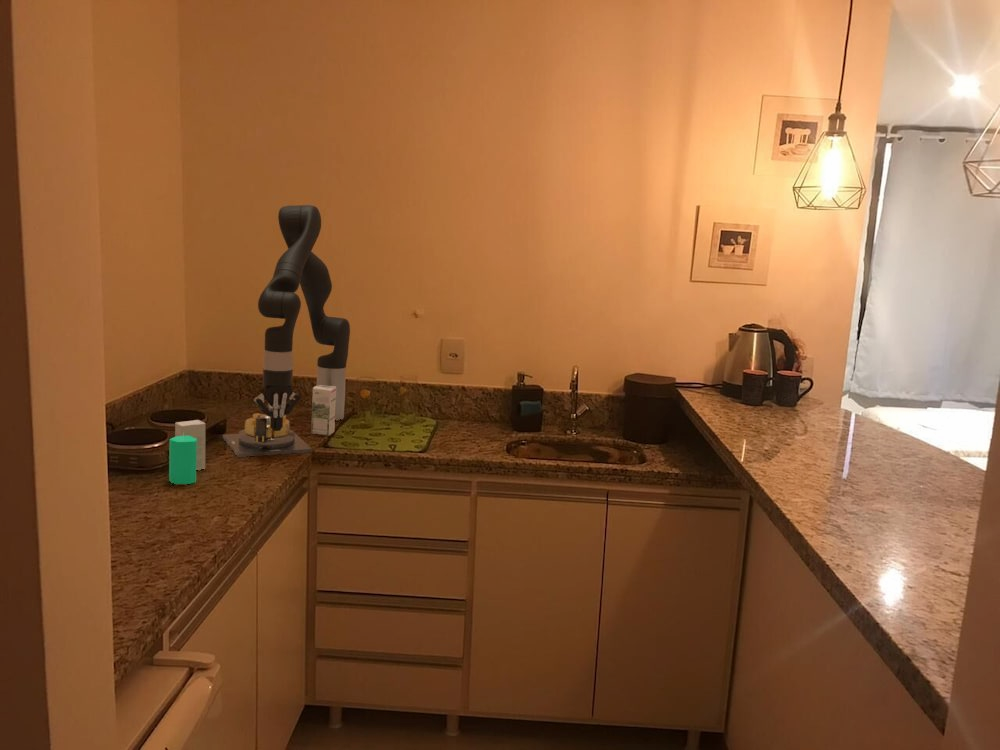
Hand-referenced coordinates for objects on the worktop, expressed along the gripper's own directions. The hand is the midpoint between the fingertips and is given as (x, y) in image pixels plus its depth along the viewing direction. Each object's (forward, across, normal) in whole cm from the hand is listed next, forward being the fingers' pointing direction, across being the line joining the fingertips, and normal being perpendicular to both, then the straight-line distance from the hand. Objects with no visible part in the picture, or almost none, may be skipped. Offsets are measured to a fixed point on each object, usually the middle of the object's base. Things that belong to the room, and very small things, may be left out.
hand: (276, 430), depth 208 cm
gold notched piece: (+3, 0, -8) cm, 8 cm away
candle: (+7, +28, +10) cm, 31 cm away
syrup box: (+8, -22, -16) cm, 29 cm away
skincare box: (+7, +23, +2) cm, 25 cm away
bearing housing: (+7, -2, -11) cm, 13 cm away
